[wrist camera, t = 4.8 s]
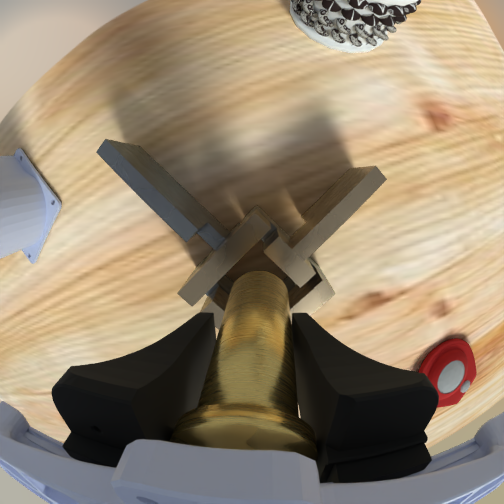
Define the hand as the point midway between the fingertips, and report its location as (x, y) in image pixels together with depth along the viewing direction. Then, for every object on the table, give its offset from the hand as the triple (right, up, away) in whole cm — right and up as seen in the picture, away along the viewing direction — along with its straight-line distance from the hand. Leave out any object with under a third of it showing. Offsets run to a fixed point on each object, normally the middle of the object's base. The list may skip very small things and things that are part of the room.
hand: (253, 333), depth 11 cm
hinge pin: (0, +1, +2) cm, 2 cm away
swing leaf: (+3, +5, +8) cm, 10 cm away
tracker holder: (+20, -10, +12) cm, 25 cm away
